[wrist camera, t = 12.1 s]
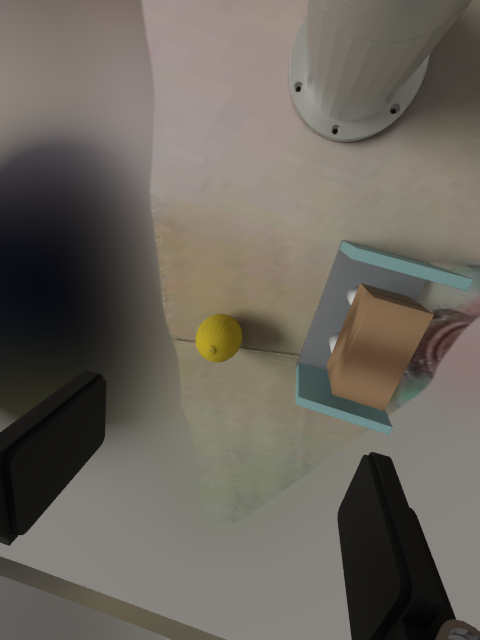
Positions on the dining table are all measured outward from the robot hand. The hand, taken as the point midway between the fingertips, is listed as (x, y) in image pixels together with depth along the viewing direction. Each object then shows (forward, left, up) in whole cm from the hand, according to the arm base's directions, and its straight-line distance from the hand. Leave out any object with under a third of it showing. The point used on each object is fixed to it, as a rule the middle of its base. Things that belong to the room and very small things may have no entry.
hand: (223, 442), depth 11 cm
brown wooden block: (+2, +11, -24) cm, 26 cm away
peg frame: (+2, +11, -29) cm, 31 cm away
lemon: (+8, -5, -29) cm, 30 cm away
